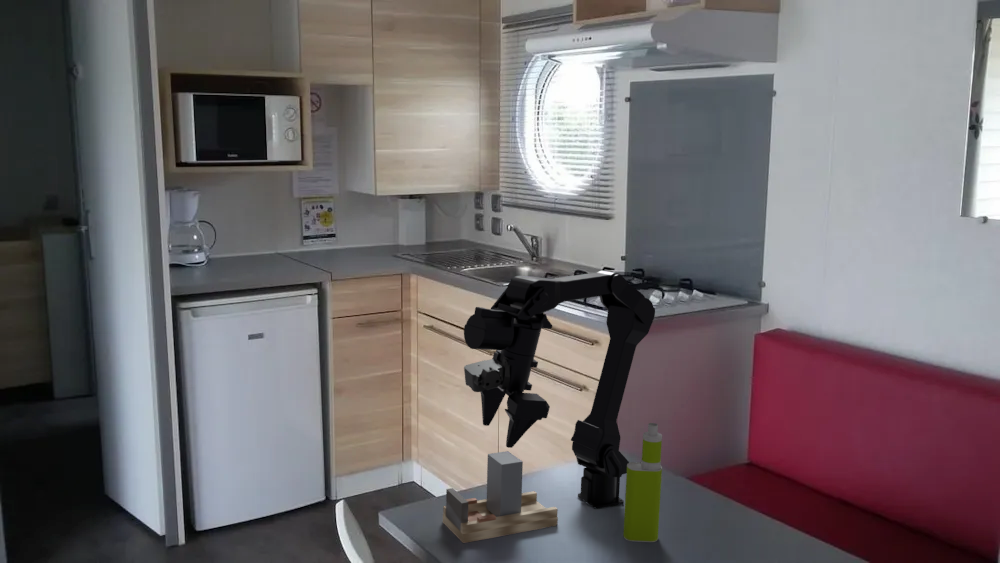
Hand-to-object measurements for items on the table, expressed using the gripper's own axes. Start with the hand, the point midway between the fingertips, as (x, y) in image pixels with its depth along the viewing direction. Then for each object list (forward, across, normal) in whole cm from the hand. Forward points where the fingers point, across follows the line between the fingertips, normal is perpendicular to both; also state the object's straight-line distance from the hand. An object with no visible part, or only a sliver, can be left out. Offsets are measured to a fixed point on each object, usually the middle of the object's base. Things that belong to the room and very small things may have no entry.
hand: (497, 436), depth 151 cm
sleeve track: (+16, +2, +4) cm, 16 cm away
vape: (+11, +16, +23) cm, 30 cm away
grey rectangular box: (+13, +2, +4) cm, 14 cm away
